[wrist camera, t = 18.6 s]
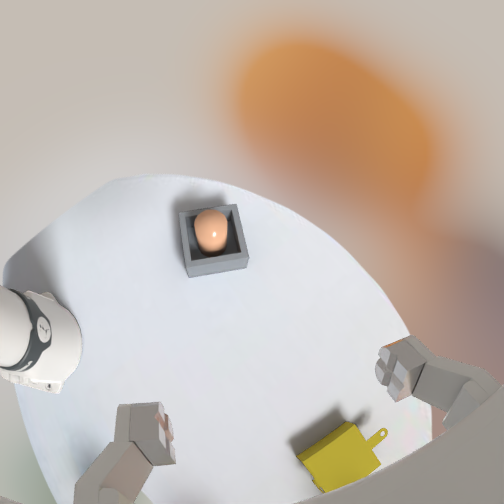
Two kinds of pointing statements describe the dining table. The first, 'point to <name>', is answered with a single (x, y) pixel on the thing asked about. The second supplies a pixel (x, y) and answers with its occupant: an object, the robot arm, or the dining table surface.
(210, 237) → the canister
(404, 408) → the dining table surface
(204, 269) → the gray open box
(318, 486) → the yellow box with tab
